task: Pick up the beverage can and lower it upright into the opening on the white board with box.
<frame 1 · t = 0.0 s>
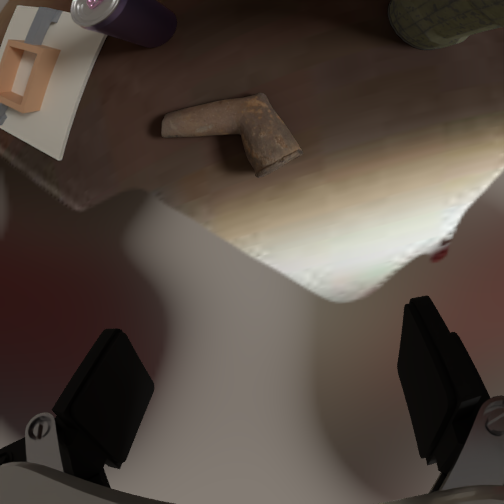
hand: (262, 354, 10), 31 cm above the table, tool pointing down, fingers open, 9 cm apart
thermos: (417, 20, 26), on the table
beverage can: (157, 28, 30), on the table
pipe: (233, 136, 37), on the table
white board with box: (34, 73, 33), on the table
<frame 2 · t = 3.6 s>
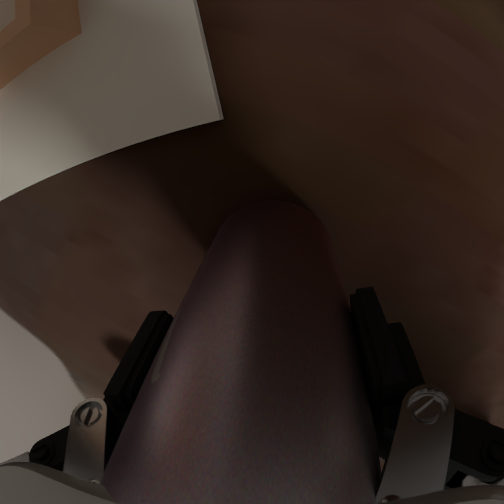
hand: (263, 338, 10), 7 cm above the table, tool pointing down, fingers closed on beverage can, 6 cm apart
beverage can: (273, 249, 16), on the table, touching gripper
white board with box: (24, 11, 10), on the table
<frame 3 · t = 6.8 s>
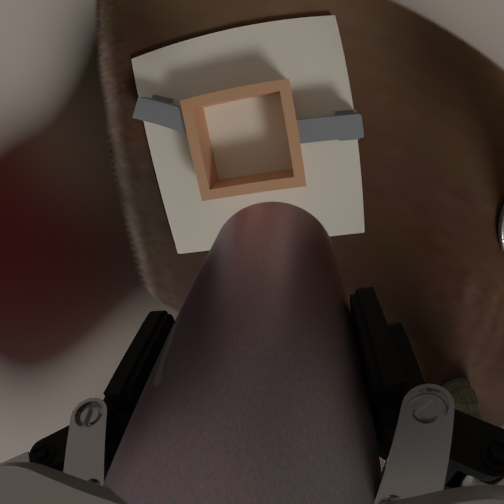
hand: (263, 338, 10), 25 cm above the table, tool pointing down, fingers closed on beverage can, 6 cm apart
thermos: (449, 391, 45), on the table
beverage can: (274, 251, 16), point 18 cm above the table, touching gripper
white board with box: (249, 136, 31), on the table
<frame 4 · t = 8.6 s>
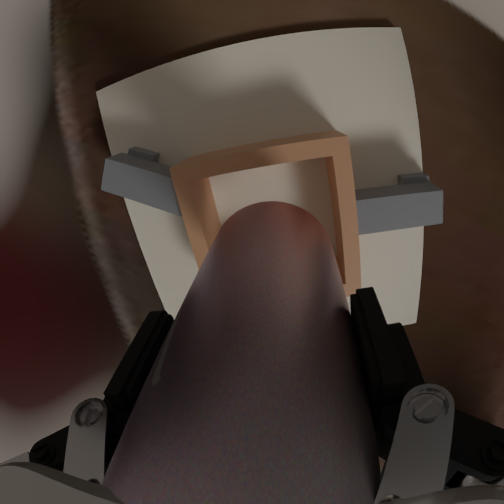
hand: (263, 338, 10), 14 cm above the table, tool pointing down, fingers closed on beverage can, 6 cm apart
beverage can: (273, 250, 16), point 7 cm above the table, touching gripper
white board with box: (275, 208, 22), on the table
when the fingers open (9 cm above the table, at t = 10.2 s): beverage can drops 1 cm, resting on white board with box.
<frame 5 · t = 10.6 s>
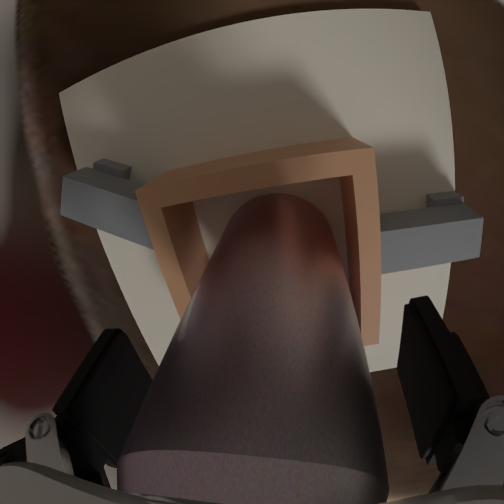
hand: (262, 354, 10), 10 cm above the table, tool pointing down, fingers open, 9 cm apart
beverage can: (279, 240, 18), point 1 cm above the table, touching white board with box
white board with box: (274, 234, 18), on the table
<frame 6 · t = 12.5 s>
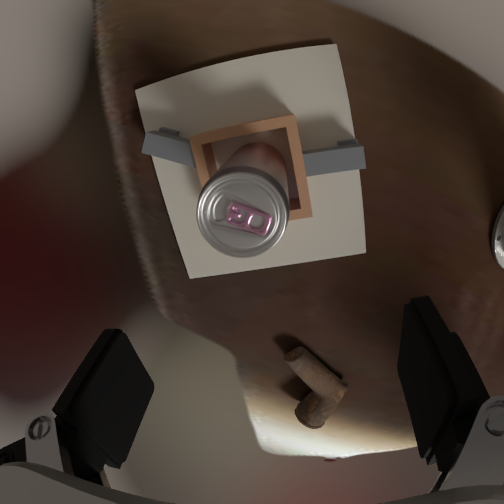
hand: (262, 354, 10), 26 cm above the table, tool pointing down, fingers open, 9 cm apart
beverage can: (257, 168, 32), point 1 cm above the table, touching white board with box
pipe: (308, 377, 47), on the table
white board with box: (255, 166, 33), on the table
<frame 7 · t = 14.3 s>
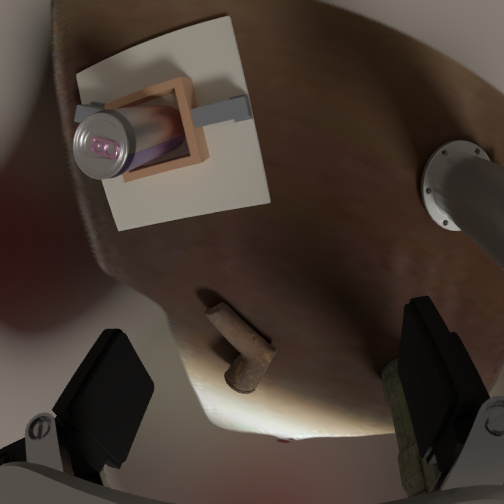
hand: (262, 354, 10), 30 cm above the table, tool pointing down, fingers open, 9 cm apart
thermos: (402, 369, 50), on the table
beverage can: (165, 128, 35), point 1 cm above the table, touching white board with box
pipe: (237, 339, 50), on the table
white board with box: (165, 127, 36), on the table
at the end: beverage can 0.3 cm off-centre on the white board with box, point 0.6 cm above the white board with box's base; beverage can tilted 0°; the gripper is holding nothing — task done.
